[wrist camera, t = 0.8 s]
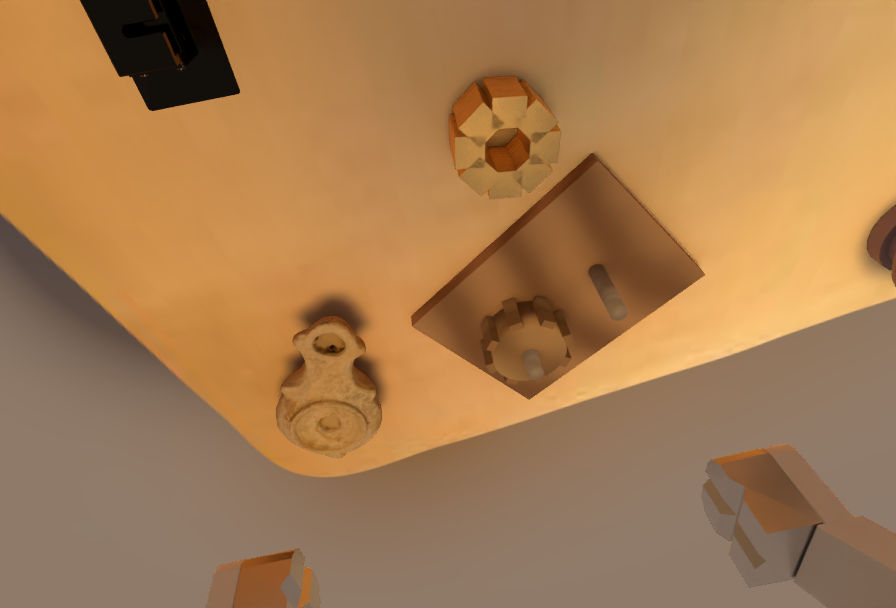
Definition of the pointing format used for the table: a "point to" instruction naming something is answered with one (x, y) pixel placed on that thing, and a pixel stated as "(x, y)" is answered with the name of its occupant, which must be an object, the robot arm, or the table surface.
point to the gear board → (559, 283)
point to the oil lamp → (329, 392)
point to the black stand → (164, 49)
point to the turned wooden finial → (884, 242)
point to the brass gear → (521, 156)
